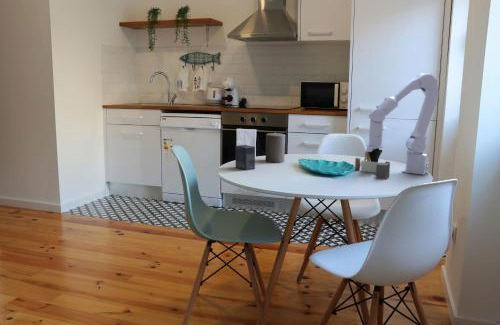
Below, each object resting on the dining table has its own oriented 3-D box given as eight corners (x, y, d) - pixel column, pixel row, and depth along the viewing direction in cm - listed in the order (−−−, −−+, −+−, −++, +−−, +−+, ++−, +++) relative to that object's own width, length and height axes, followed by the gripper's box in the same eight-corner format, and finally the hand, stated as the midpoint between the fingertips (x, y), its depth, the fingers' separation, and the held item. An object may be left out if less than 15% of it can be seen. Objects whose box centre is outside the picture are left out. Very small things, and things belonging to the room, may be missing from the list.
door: (383, 172, 210) (383, 163, 210) (381, 173, 209) (381, 163, 208) (361, 170, 216) (362, 160, 215) (360, 170, 215) (360, 161, 214)
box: (255, 169, 218) (255, 146, 216) (245, 170, 214) (245, 147, 212) (244, 166, 224) (244, 144, 222) (235, 167, 220) (235, 145, 218)
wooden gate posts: (390, 174, 209) (390, 161, 208) (388, 174, 207) (389, 162, 206) (356, 169, 219) (356, 157, 217) (354, 170, 217) (354, 158, 216)
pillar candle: (263, 162, 234) (263, 132, 231) (268, 158, 243) (268, 130, 240) (282, 163, 231) (283, 133, 229) (286, 160, 241) (287, 131, 238)
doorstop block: (389, 177, 203) (389, 163, 202) (384, 179, 199) (385, 165, 198) (380, 176, 205) (380, 162, 204) (375, 178, 201) (376, 164, 200)
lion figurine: (379, 166, 225) (381, 148, 224) (369, 167, 225) (370, 148, 223) (368, 161, 240) (369, 143, 238) (358, 161, 239) (359, 143, 238)
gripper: (373, 133, 220) (371, 162, 222) (360, 136, 208) (359, 166, 211) (388, 134, 216) (386, 163, 218) (376, 138, 204) (374, 168, 207)
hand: (374, 165), depth 214 cm, fingers closed
